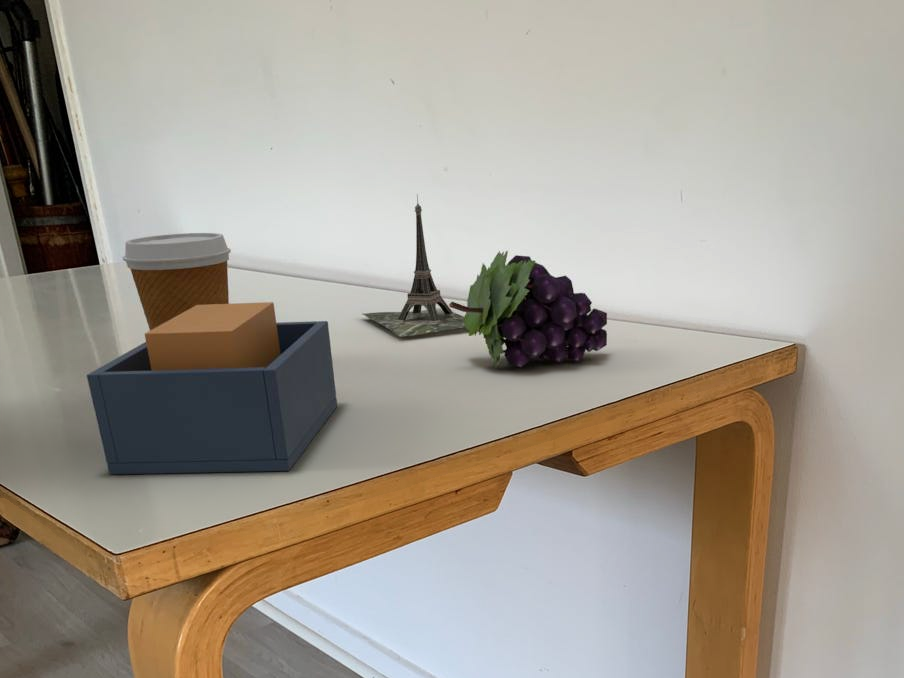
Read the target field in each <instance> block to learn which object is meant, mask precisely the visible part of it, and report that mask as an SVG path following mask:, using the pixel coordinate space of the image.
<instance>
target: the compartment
mask: <svg viewBox="0 0 904 678" xmlns="http://www.w3.org/2000/svg"><path fill="white" fill-rule="evenodd" d="M276 324H277V332H278V339H279V346H280V353H281V355H280V356H279V357H278V358H277V359H275V360H274V361H273V362H272V363H271V364H270V365H269V366H268V367H266V368H265V367H258V368H224V369H190V370H156V371H152V369H151V364H150V359H149V354H148V349H147V344H146V341H145V342H143V343H140V344H139V345H137V346H135V347H134V348H132V349H130V350H128V351H127V352H125V353H124V354H121V355H119V356H118V357H116V358H114V359H112V360H111V361H109V362H107V363H106V364H103V365H102V366H101V367H99V368H97V369H95V370H93V371H91V372H89V373H88V374H87V375H86V379H87V383H88V388H89V391H90V396H91V400H92V404H93V410H94V415H95V418H96V422H97V426H98V431H99V435H100V441H101V443H102V448H103V453H104V457H105V461H106V464H107V469H108V473H109V475H147V474H148V475H151V474H152V475H153V474H154V475H155V474H157V475H158V474H199V473H200V474H201V473H204V474H206V473H249V472H250V473H251V472H255V473H256V472H289V471H290V470H291V469H292V468H293V467H294V465H295V463H297V461H298V460H299V458H300V457H301V455H302V454H303V453H304V451H305V450H306V449H307V447H308V446H309V445H310V443H311V442H312V441H313V440H314V438H315V436H316V435H317V434H318V433H319V431H320V429H321V428H322V427H323V426H324V424H325V423H326V422H327V420H328V419H329V418H330V416H331V415H332V414H333V413H334V411H335V410H336V408H337V407H338V399H337V390H336V382H335V372H334V365H333V356H332V348H331V347H332V346H331V339H330V338H331V337H330V330H329V322H328V320H318V321H317V320H315V321H286V322H285V321H284V322H276Z"/></svg>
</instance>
